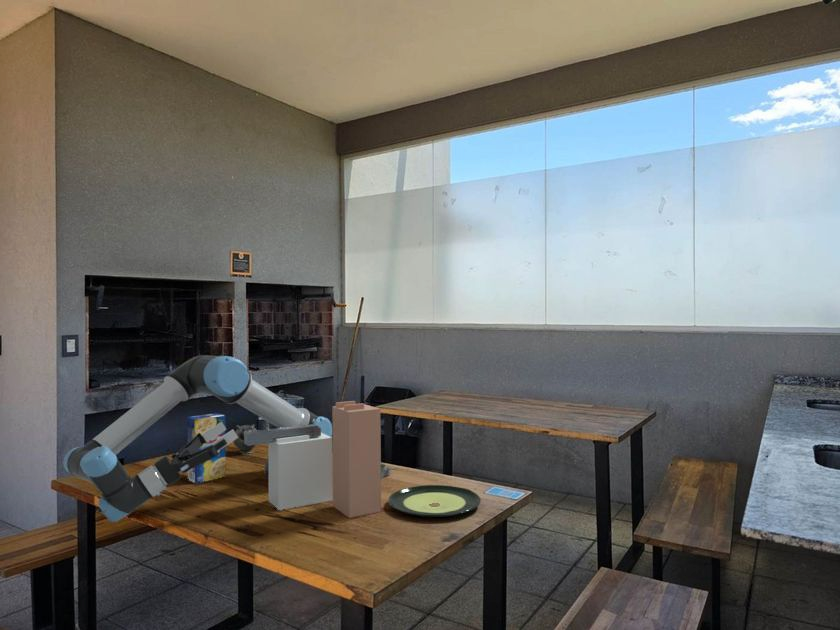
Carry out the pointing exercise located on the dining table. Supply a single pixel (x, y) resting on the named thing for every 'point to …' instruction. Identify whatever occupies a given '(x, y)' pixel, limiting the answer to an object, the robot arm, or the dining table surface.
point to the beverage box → (214, 465)
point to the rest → (300, 471)
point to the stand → (356, 458)
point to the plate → (434, 500)
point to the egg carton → (385, 470)
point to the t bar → (280, 434)
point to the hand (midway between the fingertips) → (229, 429)
